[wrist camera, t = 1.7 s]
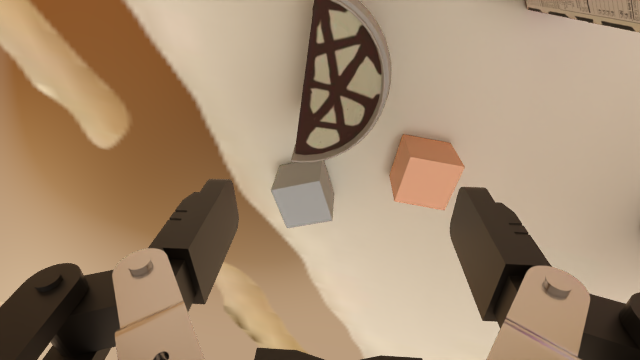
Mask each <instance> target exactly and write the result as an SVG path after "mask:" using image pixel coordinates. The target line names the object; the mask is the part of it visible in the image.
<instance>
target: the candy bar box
mask: <svg viewBox="0 0 640 360" xmlns="http://www.w3.org/2000/svg"><path fill="white" fill-rule="evenodd" d="M526 4H527V8H528V10H533V11H538V12H542V13H547V14H552V15H557V16H562V17H567V18H571V19H576V20H582V21H587V22H589V23H595V24H600V25H605V26H611V27H615V28H620V29H625V30H630V31H636V32H639V33H640V0H526Z"/></svg>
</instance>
